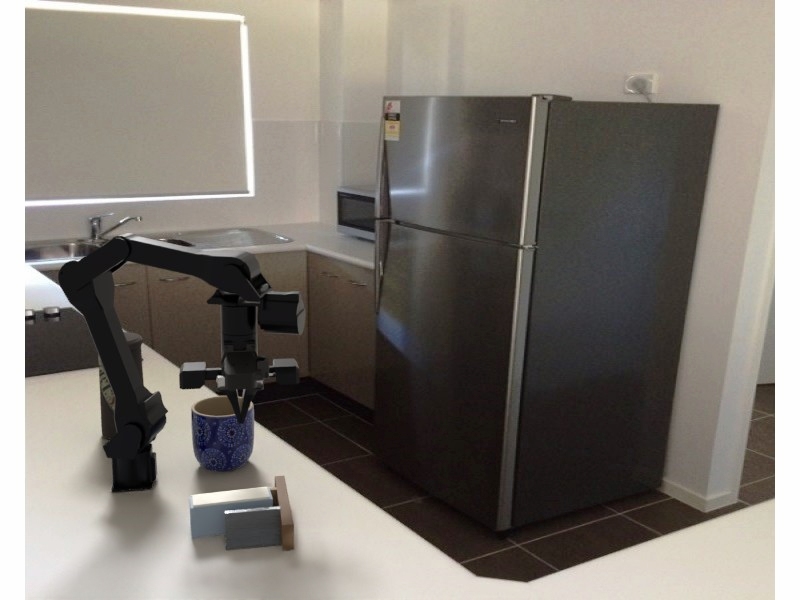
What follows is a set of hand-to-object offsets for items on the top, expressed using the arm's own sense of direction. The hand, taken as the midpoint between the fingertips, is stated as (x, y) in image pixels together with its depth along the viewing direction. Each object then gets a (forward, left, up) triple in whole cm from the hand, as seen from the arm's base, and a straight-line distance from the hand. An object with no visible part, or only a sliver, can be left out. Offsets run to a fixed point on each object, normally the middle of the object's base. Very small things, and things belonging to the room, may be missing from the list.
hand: (241, 423), depth 125 cm
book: (-2, -12, -12) cm, 17 cm away
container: (-22, +29, -12) cm, 38 cm away
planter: (-3, +11, -12) cm, 17 cm away
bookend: (+1, -17, -12) cm, 21 cm away
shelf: (+1, -12, -12) cm, 17 cm away
